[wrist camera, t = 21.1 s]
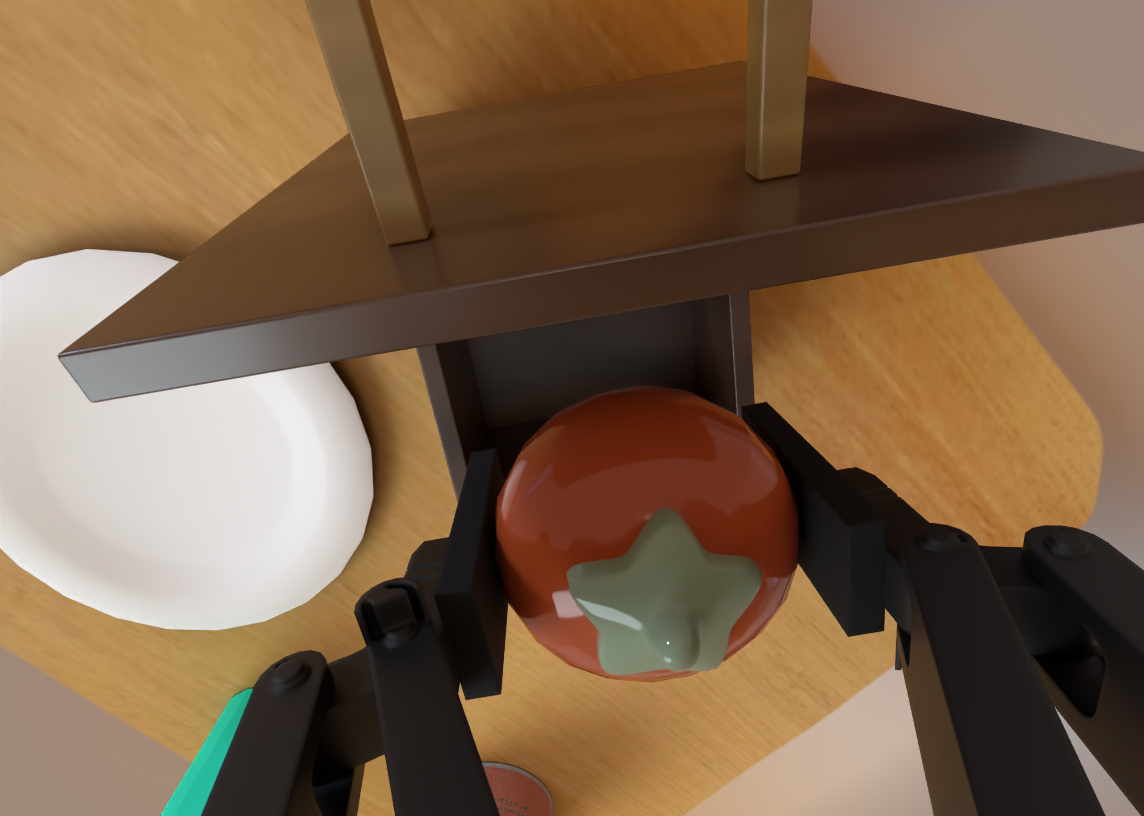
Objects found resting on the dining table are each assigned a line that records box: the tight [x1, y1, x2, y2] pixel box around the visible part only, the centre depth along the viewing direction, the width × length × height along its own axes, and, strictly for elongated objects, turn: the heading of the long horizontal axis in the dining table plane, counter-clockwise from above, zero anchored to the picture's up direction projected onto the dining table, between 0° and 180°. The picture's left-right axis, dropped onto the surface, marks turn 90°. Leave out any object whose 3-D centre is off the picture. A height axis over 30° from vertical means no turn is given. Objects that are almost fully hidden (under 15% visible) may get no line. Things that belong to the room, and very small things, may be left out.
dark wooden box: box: [417, 291, 755, 502], centre depth 30 cm, size 17×15×9 cm
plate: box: [0, 249, 374, 630], centre depth 36 cm, size 25×25×2 cm
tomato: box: [493, 385, 800, 682], centre depth 14 cm, size 7×7×8 cm
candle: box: [160, 689, 253, 816], centre depth 39 cm, size 6×6×12 cm
